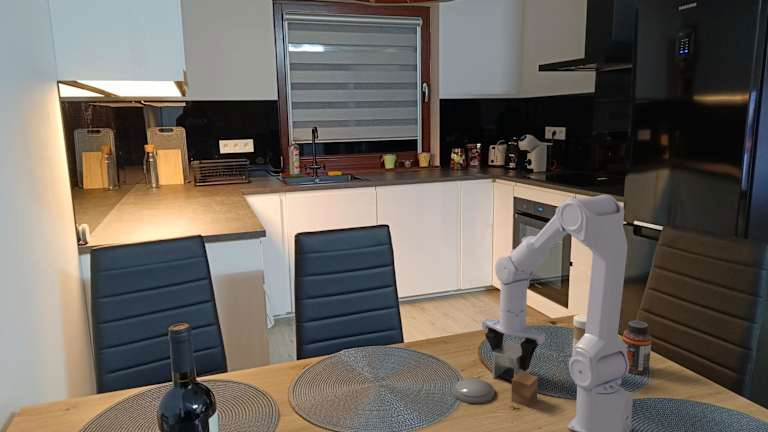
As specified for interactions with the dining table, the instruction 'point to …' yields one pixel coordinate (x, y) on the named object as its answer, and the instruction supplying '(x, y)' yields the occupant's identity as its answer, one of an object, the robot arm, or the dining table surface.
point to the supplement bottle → (637, 347)
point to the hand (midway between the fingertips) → (511, 364)
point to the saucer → (473, 391)
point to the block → (524, 389)
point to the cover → (507, 359)
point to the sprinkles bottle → (578, 328)
